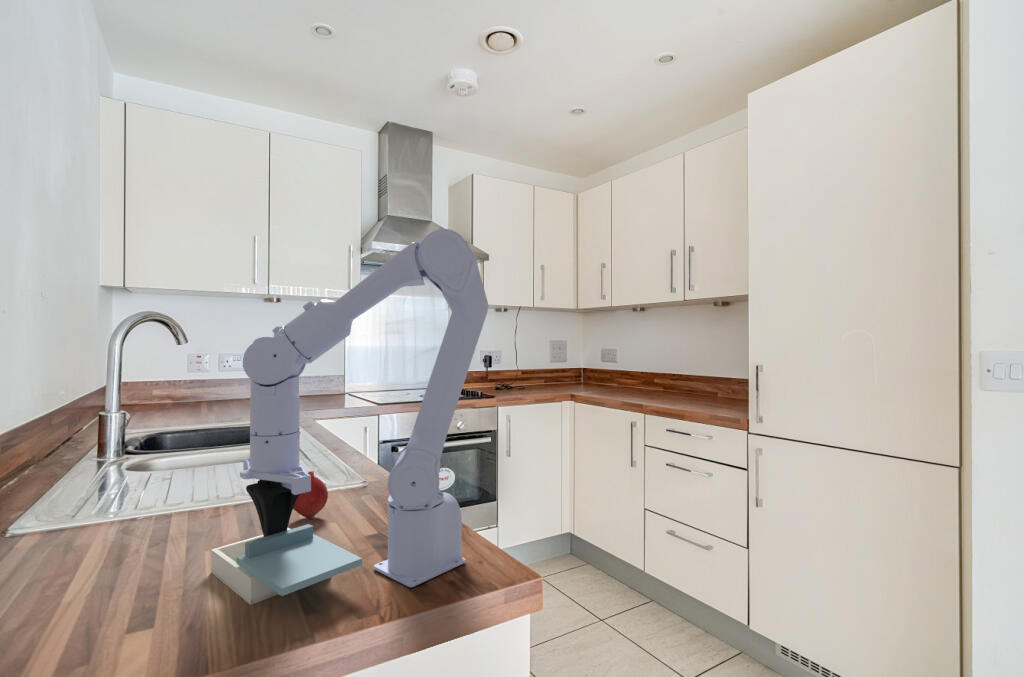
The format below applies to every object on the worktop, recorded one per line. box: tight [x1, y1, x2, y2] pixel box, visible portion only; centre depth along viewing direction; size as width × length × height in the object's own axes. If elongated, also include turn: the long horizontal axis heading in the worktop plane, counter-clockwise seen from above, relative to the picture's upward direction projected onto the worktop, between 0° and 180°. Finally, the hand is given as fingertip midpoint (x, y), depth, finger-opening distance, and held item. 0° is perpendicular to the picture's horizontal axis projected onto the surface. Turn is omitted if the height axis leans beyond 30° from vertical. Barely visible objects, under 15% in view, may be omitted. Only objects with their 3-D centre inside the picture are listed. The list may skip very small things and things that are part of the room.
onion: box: [293, 470, 329, 520], centre depth 85 cm, size 6×6×8 cm
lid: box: [237, 523, 363, 597], centre depth 60 cm, size 10×12×2 cm
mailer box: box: [210, 527, 291, 606], centre depth 65 cm, size 10×12×3 cm
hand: (275, 538), depth 64 cm, fingers closed
